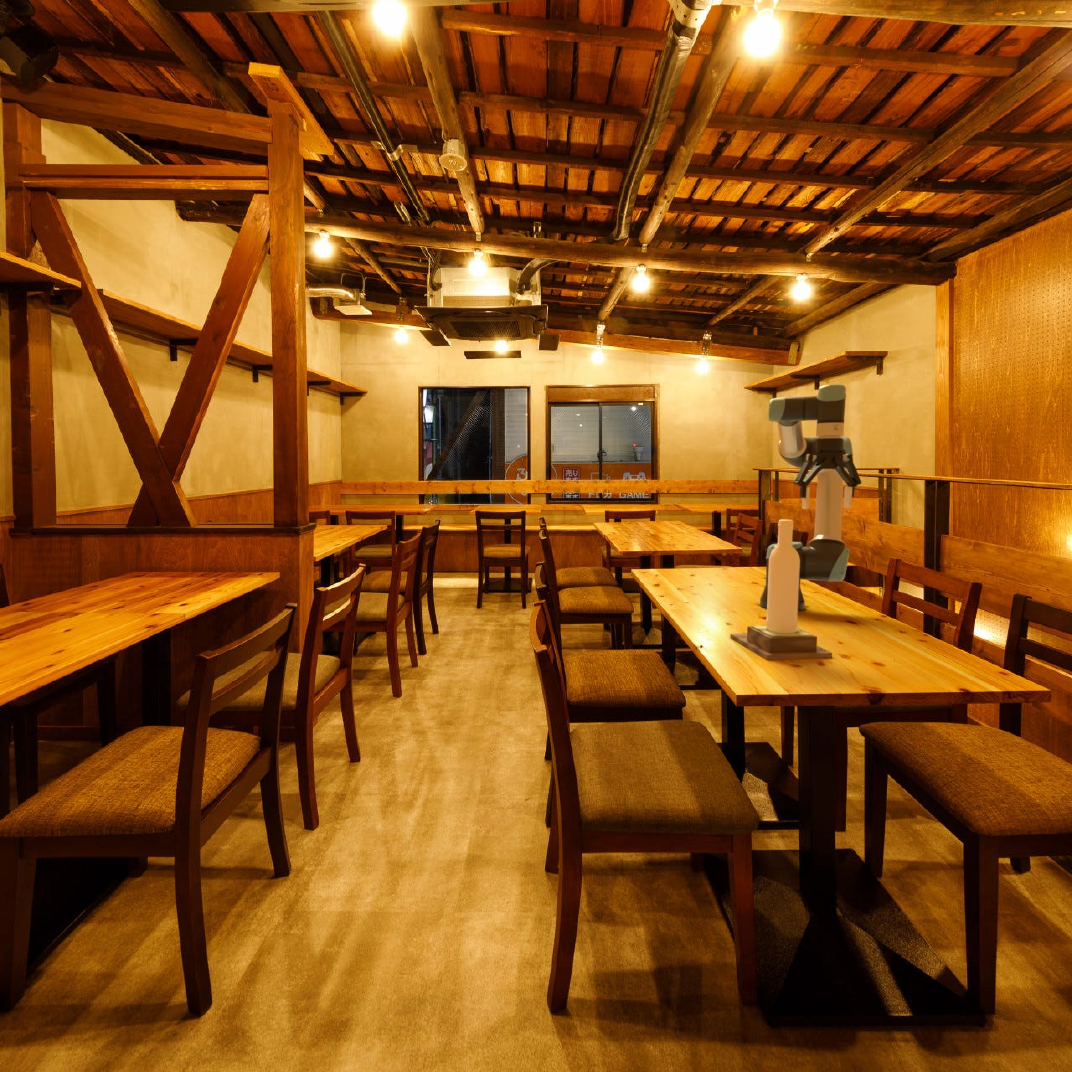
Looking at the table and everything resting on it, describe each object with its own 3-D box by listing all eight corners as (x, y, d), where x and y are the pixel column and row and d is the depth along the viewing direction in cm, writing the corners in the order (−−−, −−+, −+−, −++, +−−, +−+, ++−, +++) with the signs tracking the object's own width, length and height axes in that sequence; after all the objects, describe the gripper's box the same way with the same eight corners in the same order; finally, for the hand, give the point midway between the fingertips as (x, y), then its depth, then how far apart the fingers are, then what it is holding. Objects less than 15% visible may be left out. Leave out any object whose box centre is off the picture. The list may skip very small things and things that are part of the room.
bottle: (782, 635, 166) (787, 521, 163) (759, 628, 173) (763, 519, 170) (803, 631, 169) (808, 520, 166) (780, 625, 176) (784, 518, 173)
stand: (730, 637, 184) (730, 619, 184) (788, 636, 186) (789, 617, 186) (766, 659, 163) (767, 638, 162) (832, 657, 165) (833, 636, 164)
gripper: (796, 437, 184) (793, 510, 186) (876, 437, 187) (872, 508, 189) (783, 438, 191) (781, 508, 194) (860, 438, 194) (857, 507, 197)
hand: (826, 508), depth 192 cm, fingers open, 13 cm apart
